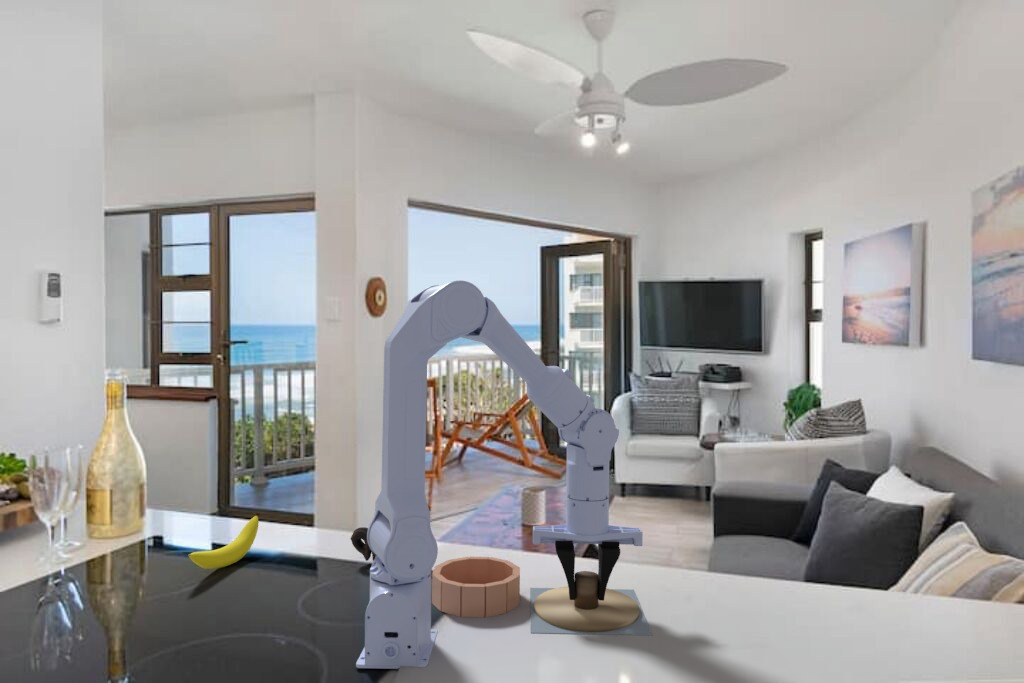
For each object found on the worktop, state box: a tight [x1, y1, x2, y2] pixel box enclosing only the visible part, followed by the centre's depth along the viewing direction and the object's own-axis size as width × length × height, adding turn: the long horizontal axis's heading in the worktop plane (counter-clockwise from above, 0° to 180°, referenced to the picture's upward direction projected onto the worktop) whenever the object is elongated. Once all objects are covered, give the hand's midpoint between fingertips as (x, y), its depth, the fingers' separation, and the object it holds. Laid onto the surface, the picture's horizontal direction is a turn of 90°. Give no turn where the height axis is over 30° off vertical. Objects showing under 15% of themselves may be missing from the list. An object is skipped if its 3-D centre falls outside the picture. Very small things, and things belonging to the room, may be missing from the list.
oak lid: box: [534, 570, 639, 632], centre depth 91 cm, size 14×14×5 cm
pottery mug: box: [350, 527, 376, 562], centre depth 109 cm, size 12×10×8 cm
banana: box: [188, 512, 261, 570], centre depth 108 cm, size 3×19×6 cm, turn 171°
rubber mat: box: [529, 587, 653, 637], centre depth 91 cm, size 15×15×1 cm
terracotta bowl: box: [431, 556, 521, 618], centre depth 94 cm, size 12×12×4 cm
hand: (586, 597), depth 91 cm, fingers closed on oak lid, 3 cm apart
